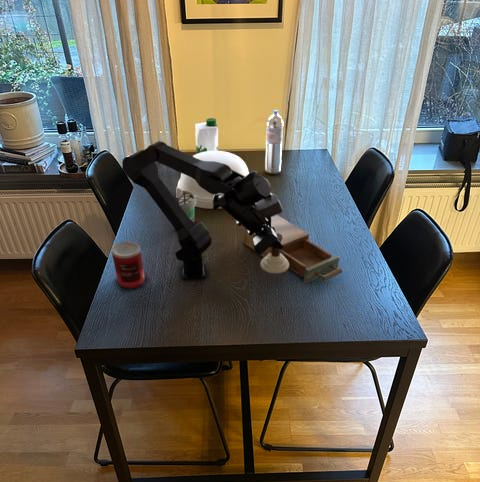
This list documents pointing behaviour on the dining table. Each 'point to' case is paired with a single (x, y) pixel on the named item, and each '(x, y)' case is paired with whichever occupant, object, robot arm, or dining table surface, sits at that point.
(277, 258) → the cream and brown stand
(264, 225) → the robot arm
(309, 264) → the drawer
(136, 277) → the canned food
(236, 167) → the dome cover
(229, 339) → the dining table surface
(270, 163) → the water bottle
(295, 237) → the cabinet
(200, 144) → the milk carton
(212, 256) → the dining table surface
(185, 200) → the food container
